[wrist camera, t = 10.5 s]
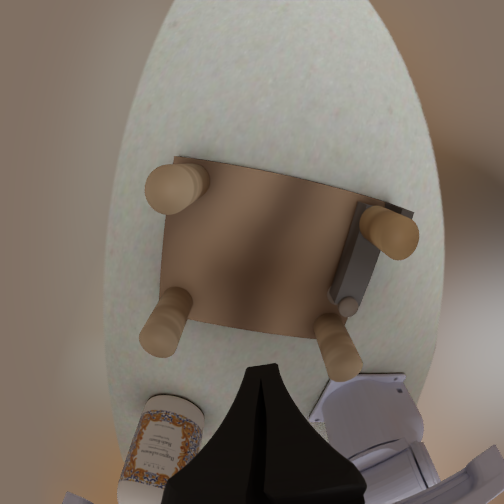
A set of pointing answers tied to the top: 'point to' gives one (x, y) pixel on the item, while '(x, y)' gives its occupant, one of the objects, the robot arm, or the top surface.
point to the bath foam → (160, 448)
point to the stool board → (251, 256)
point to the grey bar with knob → (370, 252)
